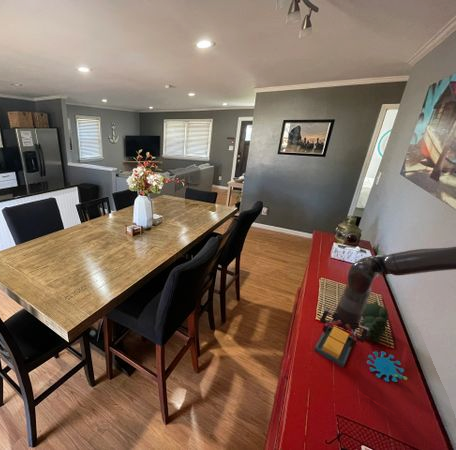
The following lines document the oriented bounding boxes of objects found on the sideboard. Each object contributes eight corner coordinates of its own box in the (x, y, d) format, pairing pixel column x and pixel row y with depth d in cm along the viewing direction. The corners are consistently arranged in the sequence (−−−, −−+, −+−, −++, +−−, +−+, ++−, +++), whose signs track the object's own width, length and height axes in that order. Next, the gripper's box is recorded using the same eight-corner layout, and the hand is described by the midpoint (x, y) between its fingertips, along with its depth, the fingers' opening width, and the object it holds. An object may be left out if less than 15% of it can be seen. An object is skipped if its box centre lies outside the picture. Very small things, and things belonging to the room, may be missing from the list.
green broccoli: (381, 356, 99) (382, 318, 116) (401, 323, 91) (399, 288, 107) (353, 343, 105) (358, 309, 121) (369, 311, 96) (372, 280, 113)
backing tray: (353, 341, 103) (355, 338, 103) (342, 368, 92) (344, 364, 91) (326, 328, 110) (327, 324, 110) (313, 350, 99) (314, 347, 98)
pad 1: (346, 339, 104) (349, 333, 103) (342, 349, 99) (345, 343, 98) (331, 331, 108) (334, 326, 107) (326, 340, 103) (329, 335, 102)
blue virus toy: (361, 365, 91) (376, 344, 92) (359, 365, 96) (373, 346, 96) (398, 391, 84) (414, 369, 84) (394, 391, 88) (409, 369, 89)
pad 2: (341, 350, 99) (344, 344, 97) (336, 361, 94) (339, 355, 93) (326, 341, 103) (328, 336, 101) (320, 351, 98) (323, 346, 97)
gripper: (326, 301, 92) (314, 333, 98) (373, 322, 82) (357, 356, 88) (331, 293, 97) (320, 323, 103) (377, 312, 87) (361, 344, 93)
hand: (337, 338), depth 95 cm, fingers open, 8 cm apart
